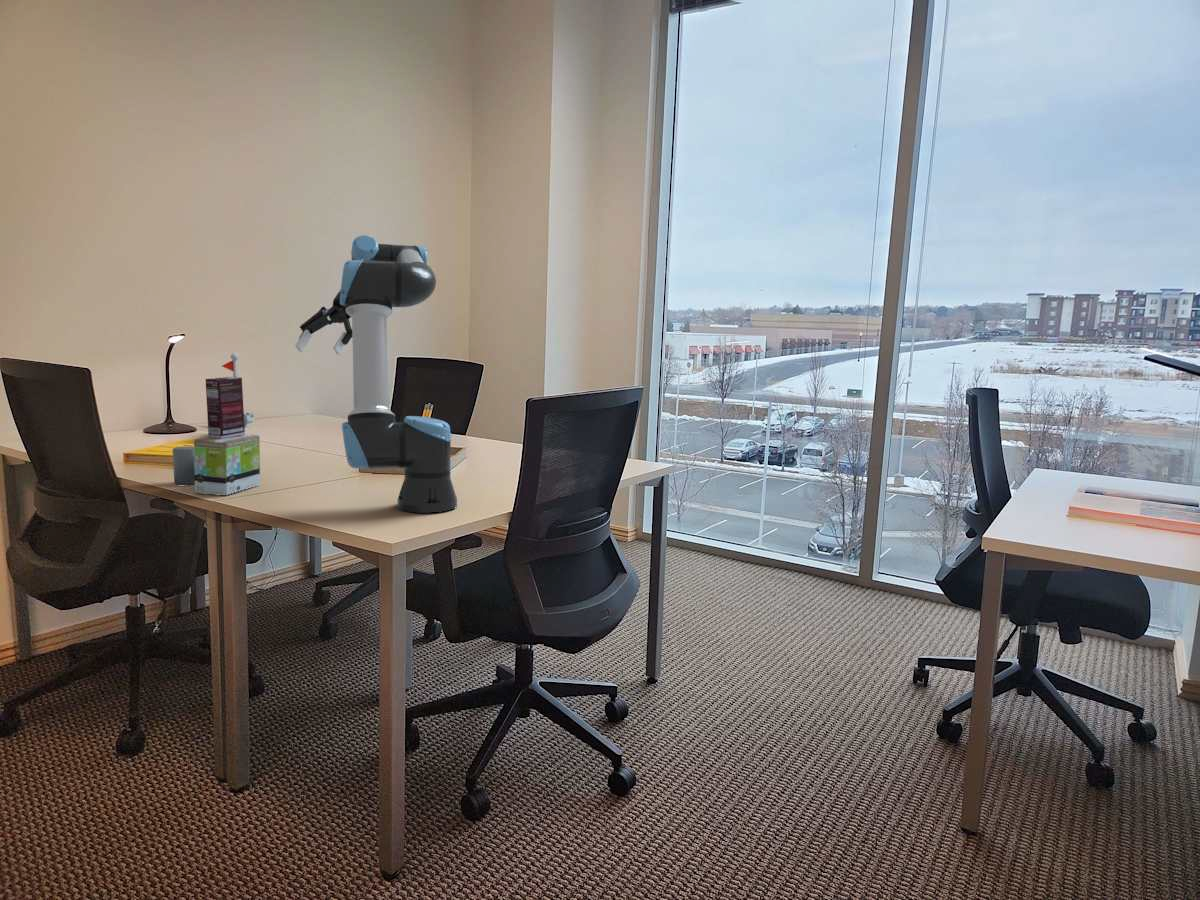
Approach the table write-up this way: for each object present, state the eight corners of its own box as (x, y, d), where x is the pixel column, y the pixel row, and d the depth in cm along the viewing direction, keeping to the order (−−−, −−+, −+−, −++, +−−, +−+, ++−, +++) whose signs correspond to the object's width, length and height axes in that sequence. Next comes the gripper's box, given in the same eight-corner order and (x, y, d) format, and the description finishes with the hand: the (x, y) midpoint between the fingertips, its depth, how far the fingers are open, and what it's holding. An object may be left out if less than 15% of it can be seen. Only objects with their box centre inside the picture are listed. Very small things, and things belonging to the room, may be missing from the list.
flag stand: (248, 424, 347) (246, 352, 342) (259, 428, 337) (256, 354, 332) (215, 426, 339) (212, 352, 334) (225, 430, 329) (222, 354, 324)
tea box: (227, 497, 220) (225, 441, 217) (194, 494, 222) (191, 439, 219) (261, 485, 234) (260, 433, 232) (229, 483, 236) (228, 431, 234)
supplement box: (231, 433, 230) (229, 376, 228) (245, 435, 228) (243, 377, 226) (206, 437, 222) (204, 378, 220) (221, 439, 221) (218, 379, 218)
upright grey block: (207, 482, 235) (206, 447, 234) (187, 487, 229) (185, 451, 227) (189, 479, 238) (187, 445, 236) (168, 484, 231) (166, 448, 230)
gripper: (389, 309, 252) (358, 361, 240) (322, 306, 261) (289, 356, 249) (378, 290, 246) (346, 343, 235) (310, 288, 255) (276, 338, 244)
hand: (317, 350), depth 242 cm, fingers open, 13 cm apart
